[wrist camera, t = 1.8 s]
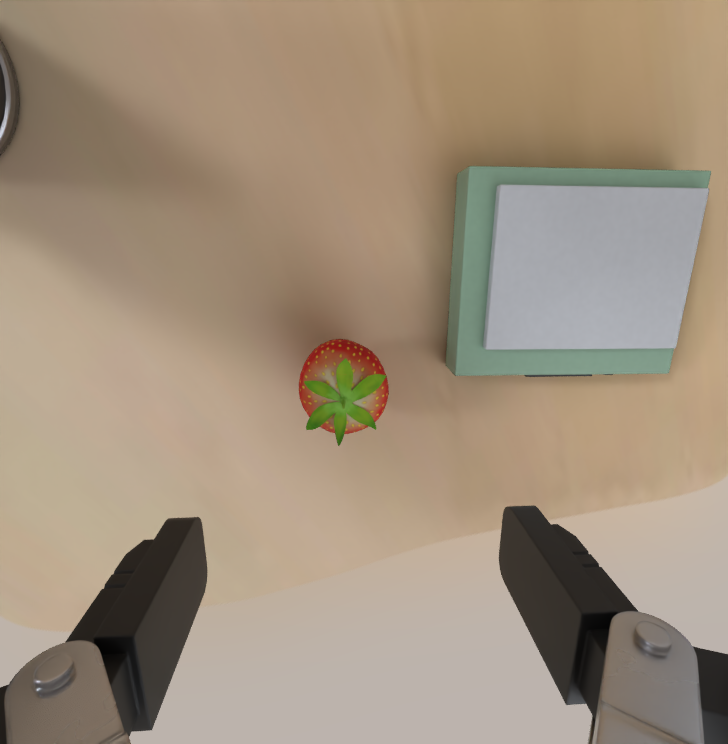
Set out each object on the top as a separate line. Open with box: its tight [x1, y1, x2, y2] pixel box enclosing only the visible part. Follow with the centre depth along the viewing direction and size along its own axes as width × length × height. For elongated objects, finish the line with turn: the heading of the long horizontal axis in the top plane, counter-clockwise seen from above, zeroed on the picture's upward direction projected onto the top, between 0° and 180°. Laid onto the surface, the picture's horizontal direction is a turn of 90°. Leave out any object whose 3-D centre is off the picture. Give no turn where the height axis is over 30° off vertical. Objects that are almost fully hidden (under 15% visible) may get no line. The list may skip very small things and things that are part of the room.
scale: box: [446, 166, 711, 377], centre depth 27 cm, size 14×12×3 cm
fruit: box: [299, 339, 389, 446], centre depth 25 cm, size 5×5×8 cm
